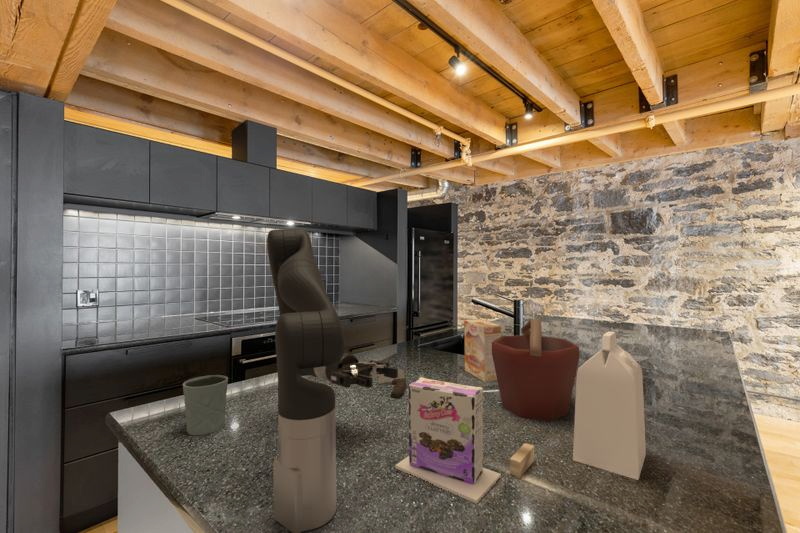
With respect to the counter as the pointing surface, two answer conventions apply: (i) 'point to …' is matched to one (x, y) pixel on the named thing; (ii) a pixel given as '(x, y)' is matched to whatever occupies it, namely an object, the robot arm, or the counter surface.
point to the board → (454, 481)
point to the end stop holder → (522, 460)
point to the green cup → (205, 404)
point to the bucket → (535, 372)
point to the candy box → (446, 428)
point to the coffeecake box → (480, 348)
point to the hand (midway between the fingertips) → (384, 378)
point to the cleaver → (395, 383)
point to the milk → (610, 411)
